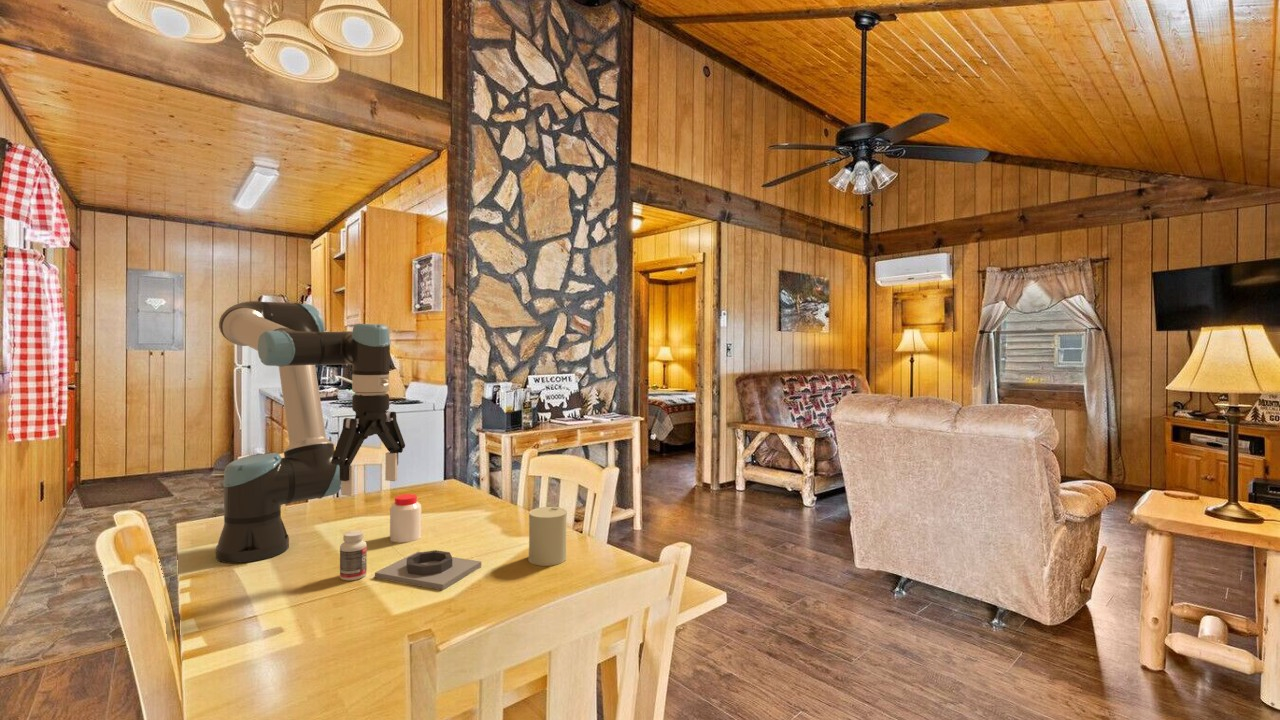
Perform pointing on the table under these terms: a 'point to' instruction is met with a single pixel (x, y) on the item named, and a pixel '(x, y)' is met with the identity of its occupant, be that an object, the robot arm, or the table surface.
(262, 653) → the table surface
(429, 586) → the collar plate
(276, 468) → the robot arm
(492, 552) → the table surface
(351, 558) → the pill bottle
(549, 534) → the can
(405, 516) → the pill bottle
